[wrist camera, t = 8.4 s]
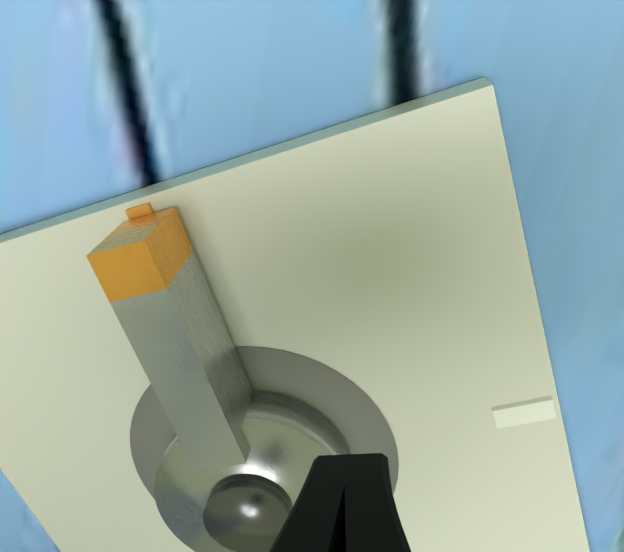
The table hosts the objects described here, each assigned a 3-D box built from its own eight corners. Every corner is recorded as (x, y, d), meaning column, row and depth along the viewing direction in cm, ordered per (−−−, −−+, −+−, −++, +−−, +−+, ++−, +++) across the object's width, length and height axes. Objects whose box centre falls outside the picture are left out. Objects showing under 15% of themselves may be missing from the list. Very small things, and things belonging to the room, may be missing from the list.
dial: (373, 516, 23) (372, 581, 20) (211, 538, 25) (191, 601, 22) (254, 184, 17) (233, 218, 15) (53, 239, 19) (4, 278, 16)
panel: (149, 630, 31) (137, 664, 29) (-102, 267, 22) (-138, 288, 21) (590, 577, 26) (603, 614, 24) (484, 76, 17) (493, 86, 16)
